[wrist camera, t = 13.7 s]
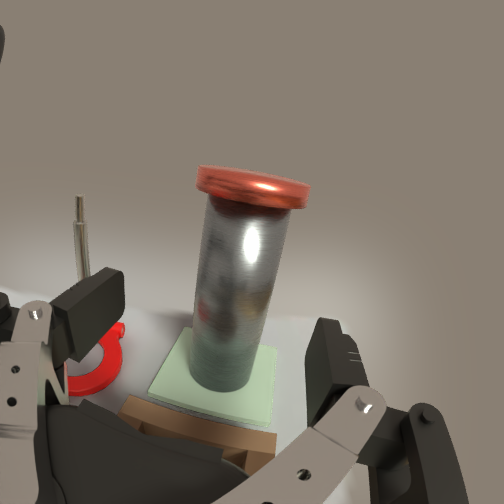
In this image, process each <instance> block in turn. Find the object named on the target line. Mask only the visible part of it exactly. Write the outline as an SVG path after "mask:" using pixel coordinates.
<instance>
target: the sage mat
mask: <svg viewBox="0 0 504 504" xmlns="http://www.w3.org/2000/svg"><path fill="white" fill-rule="evenodd" d="M191 337H192V328H189V327H184V329H183V331H182V332H181V334H180V336H179V338H178V339H177V341H176V343H175V344H174V346H173V348H172V350H171V351H170V353H169V355H168V357H167V358H166V360H165V362H164V363H163V365H162V367H161V369H160V370H159V372H158V374H157V376H156V377H155V379H154V381H153V383H152V385H151V386H150V388H149V390H148V396H149V397H152V398H155V399H158V400H160V401H163V402H166V403H170V404H173V405H176V406H179V407H182V408H186V409H189V410H193V411H196V412H200V413H204V414H208V415H211V416H216V417H220V418H224V419H228V420H233V421H238V422H243V423H248V424H253V425H259V426H265V427H269V425H270V423H271V414H272V404H273V392H274V380H275V368H276V355H277V348H276V347H271V346H266V345H261V344H259V346H258V350H257V354H256V358H255V361H254V365H253V369H252V372H251V376H250V379H249V381H248V383H247V384H246V385H245V386H244V387H243V388H241V389H239V390H237V391H233V392H227V393H221V392H214V391H211V390H208V389H206V388H204V387H202V386H200V385H199V384H198V383H197V382H196V381H195V380H194V379H193V378H192V376H191V374H190V369H189V366H190V351H191Z"/></svg>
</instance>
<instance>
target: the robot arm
mask: <svg viewBox="0 0 504 504" xmlns="http://www.w3.org/2000/svg"><path fill="white" fill-rule="evenodd" d="M4 42H5V35H4V30H3V28H2V26H1V25H0V62H1V58H2V54H3V49H4ZM124 293H125V292H124V275H123V273H122V272H121V271H118V270H115V269H111V268H108V267H105V268H104V269H102V270H101V271H99V272H98V273H96V274H95V275H93V276H89V277H87V278H84V279H82V280H81V281H79V282H78V283H76V285H73V286H72V287H71V288H70V289H68V290H66V291H65V292H64V293H62V294H61V295H59V296H58V297H56V298H55V299H54V300H52V301H51V302H50V303H47V302H45V301H31V302H29V303H26V304H25V305H23V306H22V307H21V308H20V309H19V308H15V307H10V303H9V299H8V296H7V295H6V294H5V293H2V292H0V504H322V503H323V502H324V501H325V500H326V499H327V498H328V496H329V495H330V494H331V493H332V492H333V491H334V489H335V488H336V487H337V486H338V484H339V483H340V482H341V481H342V479H343V478H344V477H345V476H346V474H347V473H348V472H349V470H350V469H351V468H352V466H353V465H354V464H355V462H356V463H360V464H364V465H368V471H369V485H370V501H371V504H469V502H468V497H467V493H466V489H465V485H464V481H463V477H462V473H461V470H460V466H459V463H458V460H457V456H456V453H455V450H454V447H453V444H452V441H451V438H450V435H449V432H448V430H447V427H446V424H445V422H444V419H443V416H442V415H441V413H440V412H439V411H438V409H436V408H435V407H434V406H432V405H430V404H426V403H418V404H415V405H413V406H412V407H411V409H410V410H409V411H408V412H404V411H400V410H397V409H393V408H390V407H387V406H386V401H385V399H384V398H383V396H382V395H381V394H380V393H379V392H378V391H376V390H374V389H372V388H370V386H369V383H368V380H367V377H366V373H365V370H364V367H363V363H362V362H361V357H360V354H359V351H358V348H357V345H356V343H355V342H354V340H353V339H352V338H351V337H350V336H349V335H347V334H343V333H342V330H341V327H340V323H339V321H338V320H333V319H327V318H321V317H320V318H319V319H318V321H317V323H316V326H315V329H314V332H313V334H312V337H311V340H310V343H309V345H308V348H307V351H306V355H305V379H306V400H307V429H306V430H305V431H304V432H303V433H302V434H300V435H299V436H298V437H297V438H296V439H295V440H294V441H293V442H292V443H291V444H290V445H288V446H287V447H286V448H285V449H284V450H283V451H282V452H280V453H279V454H278V455H277V456H276V457H275V458H273V459H272V460H271V461H270V462H269V463H267V464H266V465H265V466H264V467H262V468H261V469H260V470H259V471H257V472H256V473H255V474H253V475H252V476H250V475H249V474H248V473H247V472H245V471H244V470H242V469H241V468H240V467H238V466H236V465H235V464H233V463H231V462H229V461H227V460H225V459H223V458H222V454H223V450H224V449H222V448H217V447H213V446H209V445H205V444H201V443H197V442H193V441H190V440H186V439H177V438H167V437H159V436H152V435H146V434H143V433H141V432H139V431H138V430H137V429H135V428H134V427H132V426H131V425H129V424H128V423H126V422H125V421H124V420H122V419H121V418H119V417H118V416H117V415H115V414H114V413H112V412H110V411H108V410H106V409H104V408H102V407H100V406H98V405H96V404H93V403H91V402H90V401H88V400H86V399H83V401H82V402H81V404H80V405H79V406H73V405H70V404H69V397H68V381H67V364H66V360H67V359H68V358H71V359H73V360H75V361H77V362H78V363H79V362H80V361H81V360H82V359H83V358H84V357H85V356H86V355H87V353H88V352H89V351H90V350H91V349H92V348H93V347H94V346H95V345H96V344H97V343H98V341H99V340H100V339H101V338H102V337H103V336H104V335H105V334H106V333H107V332H108V331H109V330H110V329H111V327H112V326H113V325H114V324H115V323H116V322H117V321H118V320H119V319H120V318H121V317H122V315H123V313H124V309H125V294H124ZM408 463H409V464H408Z"/></svg>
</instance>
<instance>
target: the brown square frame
mask: <svg viewBox="0 0 504 504" xmlns="http://www.w3.org/2000/svg"><path fill="white" fill-rule="evenodd" d="M117 416H118V417H119V418H121V419H122V420H124V421H125V422H126V423H128V424H129V425H131V426H132V427H134V428H135V429H137V430H138V431H139V432H141V433H143V434H146V435H152V436H159V437H167V438H177V439H186V440H190V441H193V442H197V443H201V444H205V445H209V446H213V447H217V448H222V449H224V450H223V454H222V458H223V459H225V460H227V461H229V462H231V463H233V464H235V465H236V466H238V467H240V468H241V469H242V470H244V471H245V472H247V473H248V474H249V475H250V476H252V475H253V474H255V473H256V472H257V471H259V470H260V469H261V468H262V467H264V466H265V465H266V464H267V463H269V462H270V461H271V460H272V459H273V458H275V450H276V438H277V434H276V433H269V432H263V431H257V430H251V429H246V428H241V427H236V426H231V425H226V424H222V423H218V422H214V421H209V420H206V419H202V418H198V417H194V416H191V415H187V414H184V413H181V412H177V411H174V410H171V409H168V408H165V407H162V406H159V405H156V404H153V403H151V402H148V401H145V400H142V399H140V398H137V397H135V396H132V395H129V396H128V398H127V400H126V401H125V403H124V405H123V406H122V408H121V409H120V411H119V413H118V414H117Z"/></svg>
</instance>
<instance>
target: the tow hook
mask: <svg viewBox="0 0 504 504" xmlns="http://www.w3.org/2000/svg"><path fill="white" fill-rule="evenodd" d="M84 200H85V195H84V194H77V195H76V196H75V215H76V220H75V221H74V222H73V227H74V243H75V254H76V265H77V273H78V281H81V280H82V279H84V278H87V277H89V276H91V275H90V264H89V251H88V233H87V220H85V217H84V216H85V208H84V206H85V205H84V204H85V202H84ZM124 331H125V325H124V323H120V322H116V323H115V324H114V325H113V326H112V327H111V329H110V330H109V331H108V332H107V333H106V334H105V335H104V336H103V337H102V338H101V339H100V340H99V341H98V343H99V344H100V345H101V346H102V347H103V349H104V358H103V361H102V362H101V364H100V365H99V366H98V367H97V368H96V369H95V370H94V371H92V372H90V373H88V374H86V375H82V376H77V377H72V376H67V381H68V396H84V395H89V394H94V393H96V392H98V391H100V390H102V389H104V388H105V387H107V386H108V385H109V384H110V383H111V382H112V381H113V380H114V379H115V378H116V376H117V375H118V373H119V372H120V368H121V365H122V350H121V346H120V344H119V338H120V337H121V338H122V337H123V336H124Z"/></svg>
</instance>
